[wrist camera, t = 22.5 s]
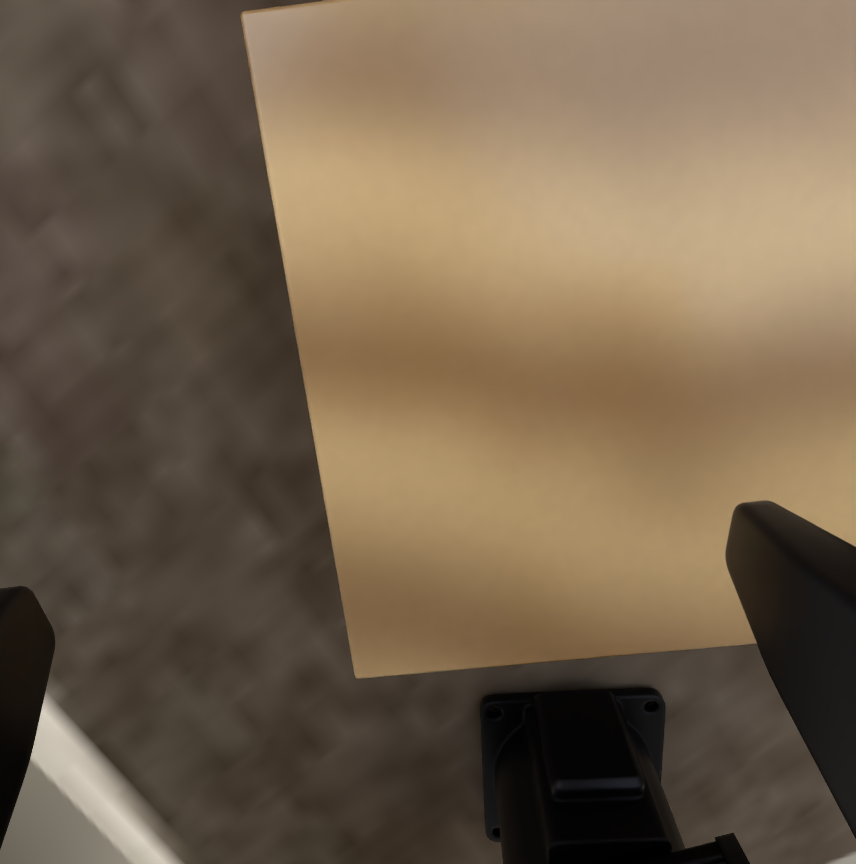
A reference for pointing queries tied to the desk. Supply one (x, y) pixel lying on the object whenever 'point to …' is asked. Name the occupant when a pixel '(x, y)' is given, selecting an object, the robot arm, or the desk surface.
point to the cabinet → (563, 307)
